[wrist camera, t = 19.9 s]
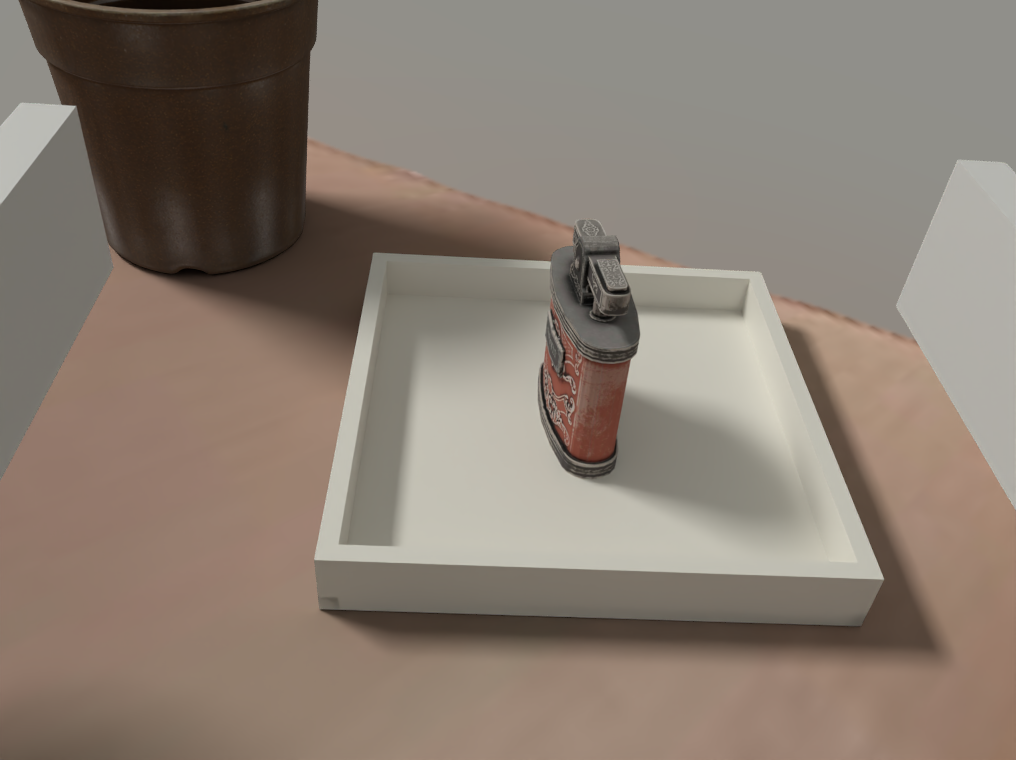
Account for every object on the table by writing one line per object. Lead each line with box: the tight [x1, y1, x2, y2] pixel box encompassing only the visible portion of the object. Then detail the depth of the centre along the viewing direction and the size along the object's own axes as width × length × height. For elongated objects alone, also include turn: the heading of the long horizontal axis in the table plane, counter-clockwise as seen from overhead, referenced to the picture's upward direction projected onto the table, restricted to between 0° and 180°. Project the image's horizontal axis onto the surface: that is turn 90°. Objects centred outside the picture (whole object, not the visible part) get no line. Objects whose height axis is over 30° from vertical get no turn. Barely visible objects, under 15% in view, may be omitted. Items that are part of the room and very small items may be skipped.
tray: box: [314, 253, 884, 626], centre depth 45 cm, size 22×22×3 cm
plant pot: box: [19, 0, 318, 274], centre depth 54 cm, size 16×16×16 cm
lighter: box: [537, 219, 640, 479], centre depth 43 cm, size 8×3×10 cm, turn 9°
